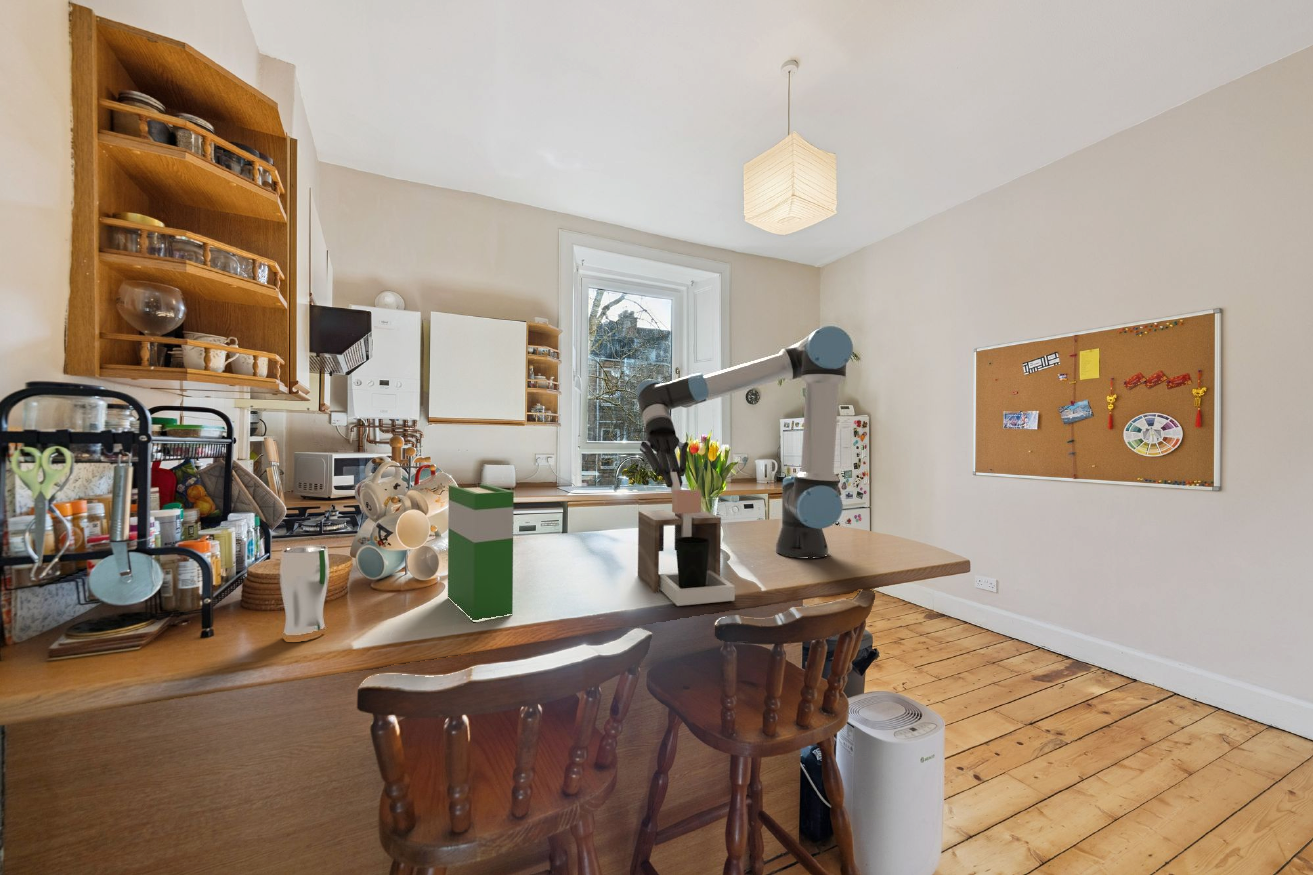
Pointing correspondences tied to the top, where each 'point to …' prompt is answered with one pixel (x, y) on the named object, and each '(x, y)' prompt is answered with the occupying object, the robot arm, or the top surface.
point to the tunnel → (654, 541)
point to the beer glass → (304, 587)
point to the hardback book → (481, 550)
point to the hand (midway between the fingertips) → (678, 496)
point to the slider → (718, 587)
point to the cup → (692, 561)
